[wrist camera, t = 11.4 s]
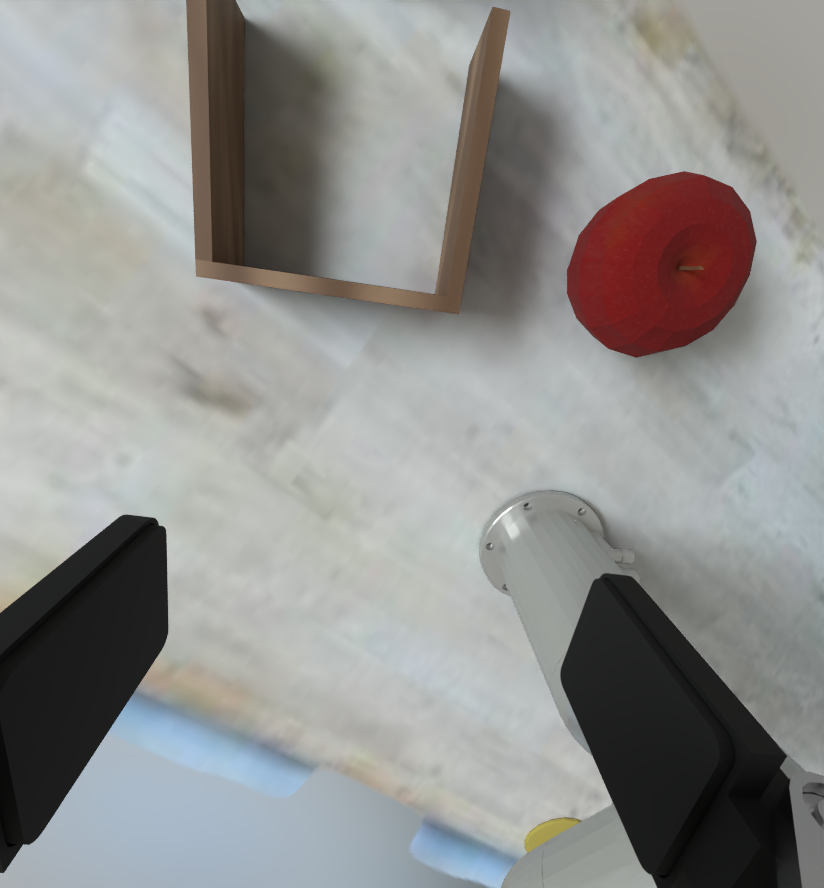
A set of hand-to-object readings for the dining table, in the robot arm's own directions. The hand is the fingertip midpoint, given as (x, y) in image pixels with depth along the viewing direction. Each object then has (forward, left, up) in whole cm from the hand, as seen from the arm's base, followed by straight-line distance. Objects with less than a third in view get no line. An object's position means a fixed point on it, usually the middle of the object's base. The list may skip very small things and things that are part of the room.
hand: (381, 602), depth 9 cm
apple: (-17, -10, -29) cm, 35 cm away
